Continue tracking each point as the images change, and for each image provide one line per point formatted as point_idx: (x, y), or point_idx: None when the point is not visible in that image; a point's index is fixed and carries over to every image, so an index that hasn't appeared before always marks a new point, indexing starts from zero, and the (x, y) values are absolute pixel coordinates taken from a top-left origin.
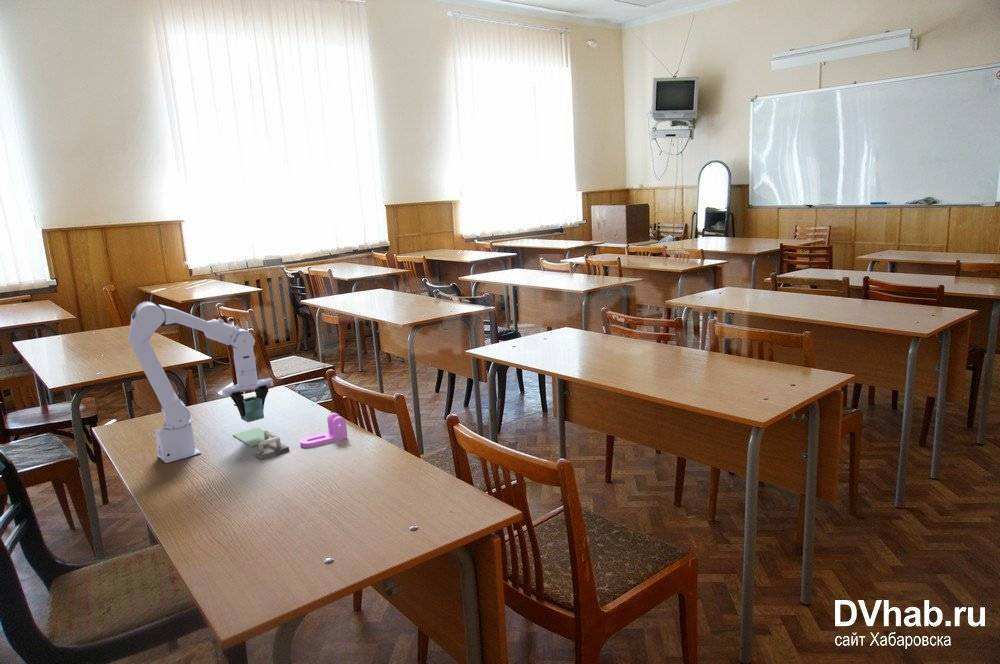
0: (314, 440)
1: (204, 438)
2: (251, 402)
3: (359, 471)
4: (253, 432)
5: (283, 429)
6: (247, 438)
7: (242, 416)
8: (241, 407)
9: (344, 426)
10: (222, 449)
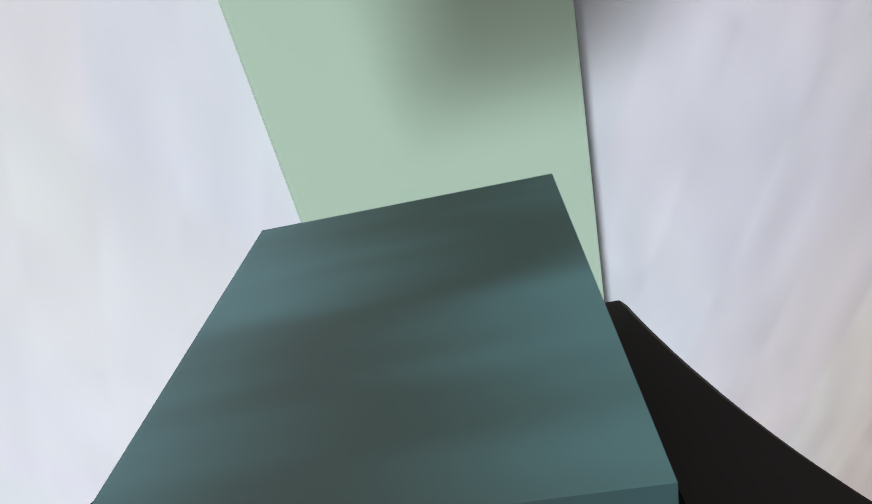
0: None
1: (816, 438)
2: (425, 480)
3: None
4: None
5: (147, 253)
6: (526, 177)
7: (628, 310)
8: (726, 420)
9: None
10: (855, 26)
